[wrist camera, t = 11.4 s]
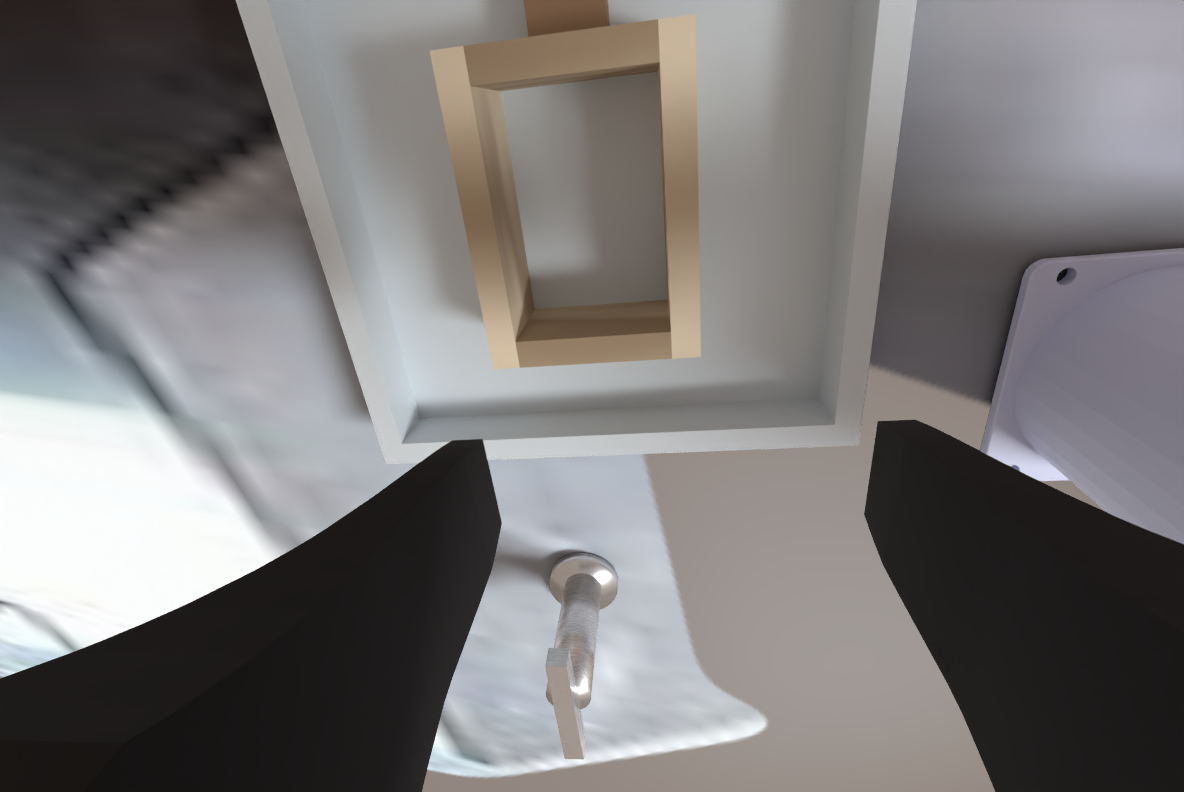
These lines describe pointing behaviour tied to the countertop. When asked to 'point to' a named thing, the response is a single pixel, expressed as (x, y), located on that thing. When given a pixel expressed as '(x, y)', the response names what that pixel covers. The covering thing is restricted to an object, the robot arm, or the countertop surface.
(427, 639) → the robot arm
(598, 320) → the wooden lantern frame
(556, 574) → the t head stake
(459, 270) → the tray
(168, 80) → the countertop surface
